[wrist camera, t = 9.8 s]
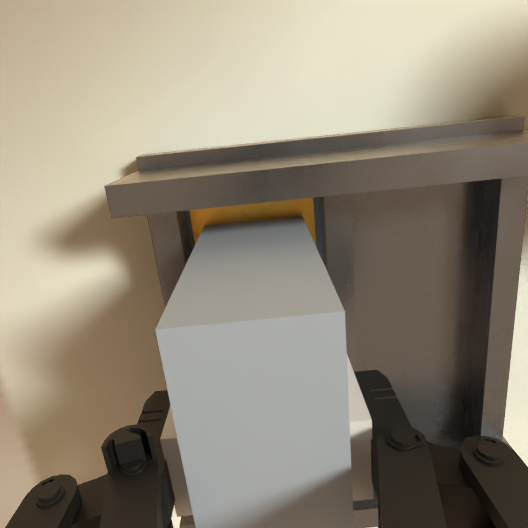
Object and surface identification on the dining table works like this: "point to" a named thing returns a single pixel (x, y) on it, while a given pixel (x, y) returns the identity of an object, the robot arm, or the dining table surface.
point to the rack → (377, 250)
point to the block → (259, 379)
